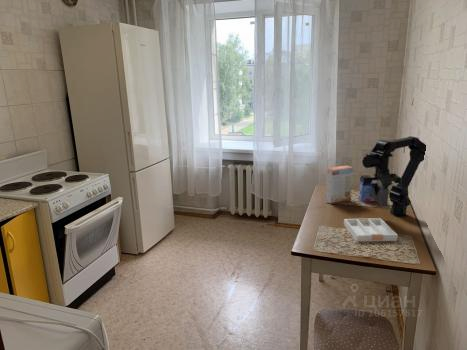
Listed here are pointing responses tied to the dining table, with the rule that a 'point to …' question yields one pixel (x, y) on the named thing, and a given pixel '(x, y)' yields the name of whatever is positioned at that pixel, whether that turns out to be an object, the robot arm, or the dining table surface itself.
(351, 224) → the slot rack
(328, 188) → the cracker box
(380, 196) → the panel
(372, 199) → the ink cartridge box
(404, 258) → the dining table surface
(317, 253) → the dining table surface
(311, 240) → the dining table surface
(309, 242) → the dining table surface
